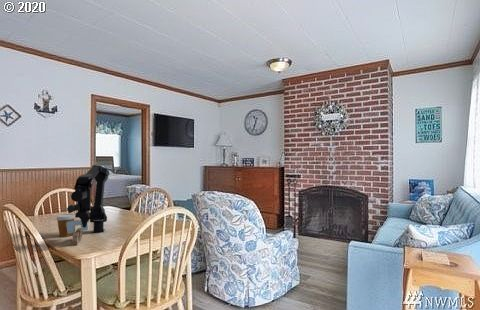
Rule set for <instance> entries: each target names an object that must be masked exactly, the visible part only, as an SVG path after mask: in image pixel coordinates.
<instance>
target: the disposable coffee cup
mask: <svg viewBox="0 0 480 310" xmlns="http://www.w3.org/2000/svg"><path fill="white" fill-rule="evenodd" d="M55 219H56V220H57V228H58V233H59V237H61V238H66V237H67V238H68V237H70V236H73V233H69V234H68V233H67V226H66V223H67V222H69V221H75V219H76V217H75V214H74V213H64V214H59V215H57V216H56V218H55Z"/></svg>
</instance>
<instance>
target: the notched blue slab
mask: <svg viewBox="0 0 480 310" xmlns="http://www.w3.org/2000/svg"><path fill="white" fill-rule="evenodd" d="M66 226H67V233H68V234H69V233H72V234H74V232H76V227H78V226H80V228H81V231H82V232H84V231H89V229H90V228H89V226H90V225H89V221H88V222H87V225H86V227H85V228H83V225H82V222H81V219H76V220H75V219H74V221H69V222H67V223H66Z"/></svg>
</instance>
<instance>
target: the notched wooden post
mask: <svg viewBox="0 0 480 310" xmlns="http://www.w3.org/2000/svg"><path fill="white" fill-rule="evenodd" d="M82 239H83V231H81V227H77V228H76V229H75V232H74V233H72V247H75V246H78V245H79V244H80V242H81V240H82Z"/></svg>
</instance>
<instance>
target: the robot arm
mask: <svg viewBox="0 0 480 310" xmlns="http://www.w3.org/2000/svg"><path fill="white" fill-rule="evenodd" d="M109 176H110V171H109V169H108V168H107V167H104V166H102V165H101V164H94V165H92V166H91V168H90V169H89V170H88V171H87V172H86V173H84V174H81V175H80V176H78V177H77V179H76V181H75V185H74V187H73V190H74V191H73V192H72V193H71V195H70V199H71V200H72V201H73V202H75V203H76V204H70V205H68V206H67V207H66V212H67V213H68V214H72V212H75V214H74V215H75V219H76V218H77V219H78V218H79V220H81V222H82V225H83V228H85V227H86V225H87V222H88V223H89V222H90V223H93V228H92V229H93V230H92V231H91V233H92V234H93V233H95V234H96V233H97V234H98V233H104V232H105V230H106V228H104V226H105V225H104V223H105V222H107V221H108V216H107V213H106V211H105V210H106V209H105V207H104V195H105V185H106V184H105V183H106V182H107V181H108V179H109ZM94 182H96V183H95V184H96V185H95V193H94V203H93V204H94V205H92V187H93V185H94ZM76 211H77V212H76Z"/></svg>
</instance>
